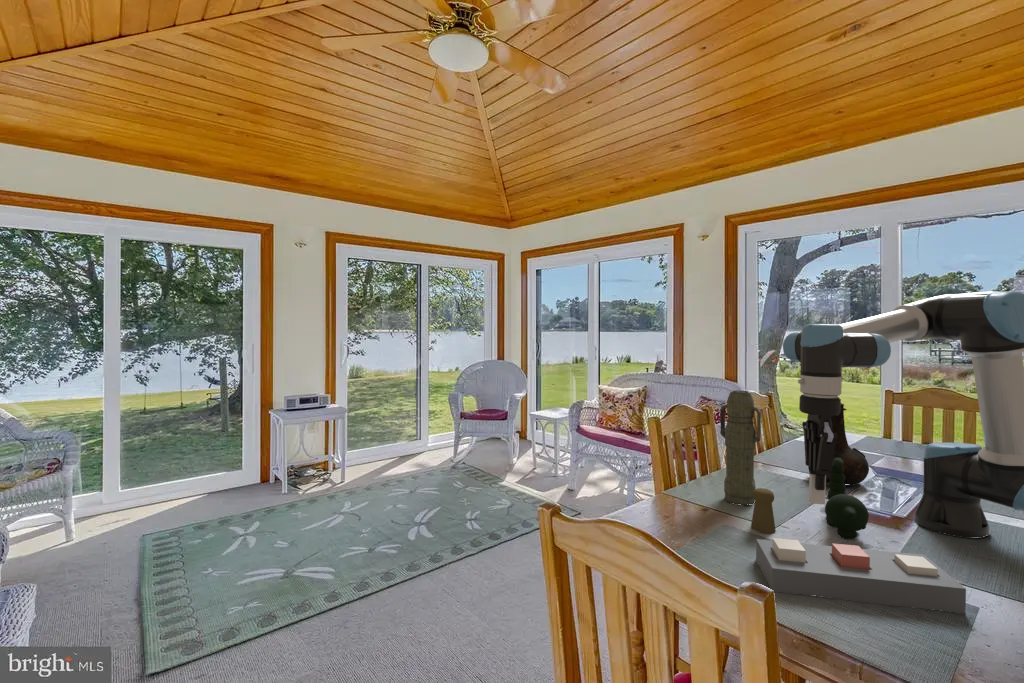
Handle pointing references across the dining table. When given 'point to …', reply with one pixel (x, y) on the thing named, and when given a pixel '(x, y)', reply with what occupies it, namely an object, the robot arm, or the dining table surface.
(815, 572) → the key panel
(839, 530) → the toy figurine
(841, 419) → the glass bottle
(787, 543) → the far key
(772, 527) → the cork
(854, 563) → the middle key
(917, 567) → the near key
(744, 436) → the thermos
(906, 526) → the dining table surface
